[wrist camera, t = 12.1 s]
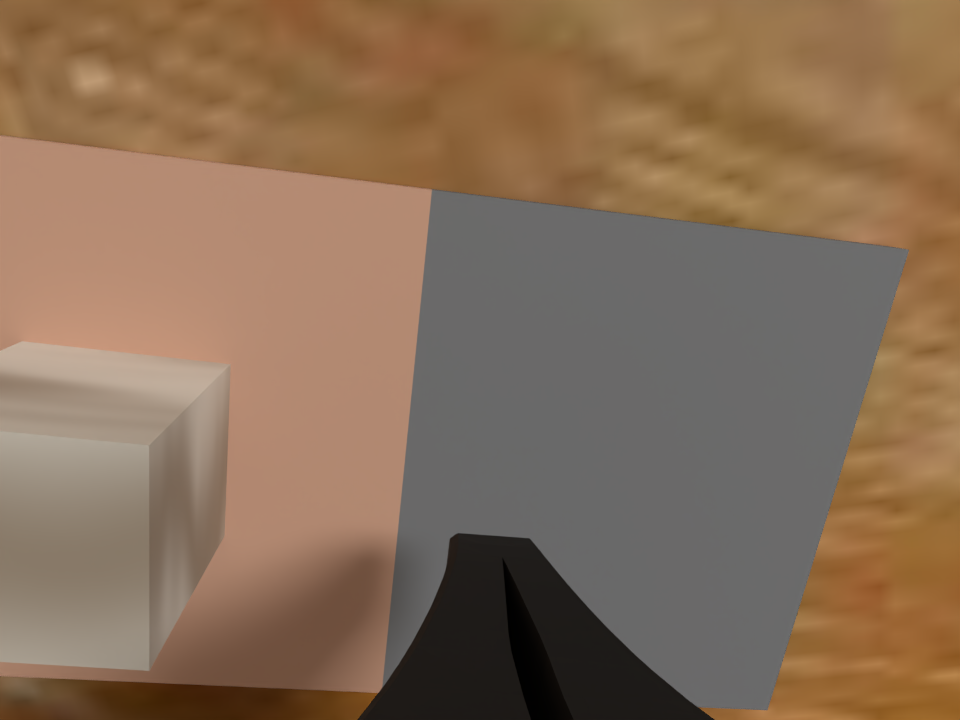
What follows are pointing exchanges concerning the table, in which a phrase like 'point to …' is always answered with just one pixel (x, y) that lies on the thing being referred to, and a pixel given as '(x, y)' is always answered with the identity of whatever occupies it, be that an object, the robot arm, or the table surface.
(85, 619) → the cream block
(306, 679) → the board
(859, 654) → the table surface
